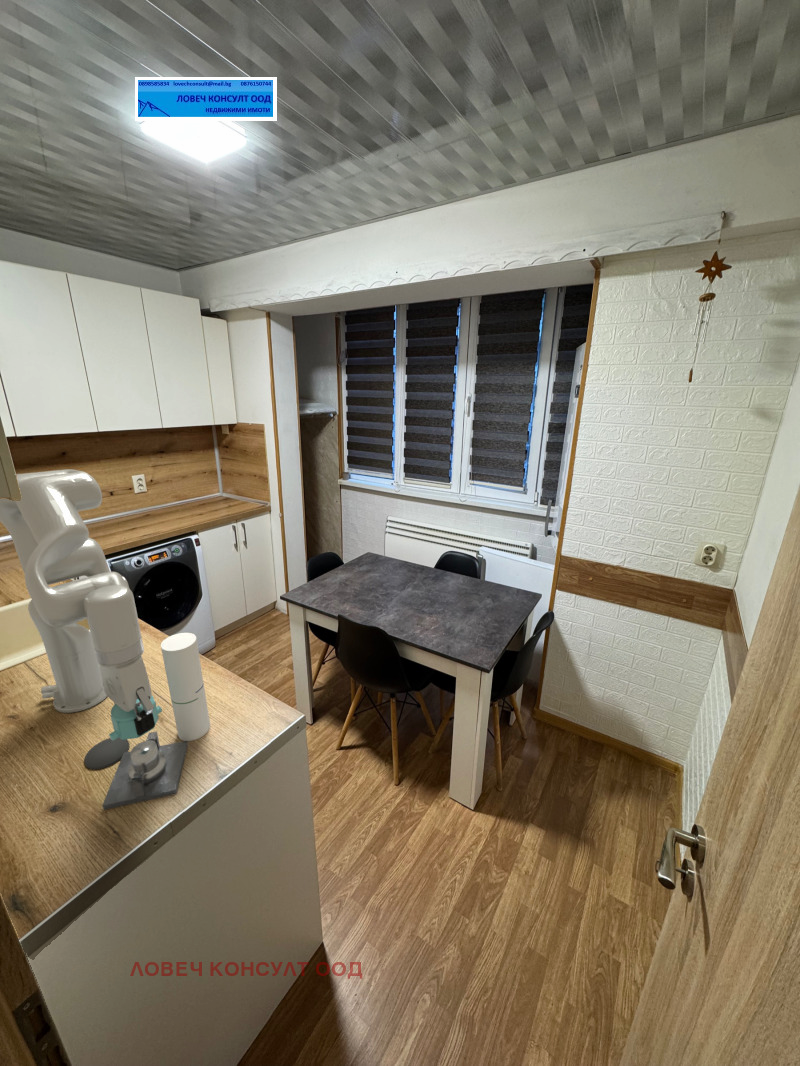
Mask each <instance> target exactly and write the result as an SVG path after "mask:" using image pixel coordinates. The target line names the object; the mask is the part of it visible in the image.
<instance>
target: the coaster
mask: <svg viewBox="0 0 800 1066" xmlns="http://www.w3.org/2000/svg"><path fill="white" fill-rule="evenodd" d="M129 750H130V742H129V739H125V740H121V739H120V738H117V739H115V740H114V741H112V740H111V739H110V737H108V738H106V739H103V740H101V741H100V742H98V743H96V744H95V745H93V746H92V747H91V748H90V749H89V750H88V751H87V752H86V754H85V756H84V764H85V767H87V768H88V769H90V770H102V769H105V768H108V767H111V766H113V765H114V764H116V763H118V762H120V761H121V758H122V756H123V754H124V753H125V752H129Z"/></svg>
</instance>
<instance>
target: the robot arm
mask: <svg viewBox="0 0 800 1066" xmlns="http://www.w3.org/2000/svg"><path fill="white" fill-rule="evenodd" d="M15 475H17V480H18V484H19V488H20V492H21V496H22V498H21V500H20V501H12V500H9V499H0V523H1V524H2V526H3V527H4V528H6V530H7V532H8V533H9V536H10V537H11V539H12V542H13V546H14V548H15V551H16V554H17V557H18V560H19V562H20V566H21V568H22V571H23V573H24V582H25V587H26V590H27V592H28V594H29V597H30V598H31V600H30V601H29V603H28V606H27V609H28V614H29V616H30V618H31V620H32V621H33V624H34V625H35V627H36V629H37V631H38V633H39V635H40V638H41V641H42V643H43V646H44V650H45V653H46V655H47V659H48V662H49V665H50V669H51V673H52V676H53V679H54V681H55V684H54V685H47V686H46V685H45V686H41V689H40V693H41V695H42V696H41V698H42V699H43V700H44V699H50V698H53V699H54V700H53V707H54V709H55V710H56V711H58V712H60V713H63V714H64V713H66V714H68V713H69V714H71V713H77V712H82V711H84V710H87V709H90V708H92V707H94V706H96V705H98V704H99V703H101V702H102V701H104V700H105V699H106V698H107V697H108V698H109V700H111V701H112V702H113V704H114V705H115V704H116V705H118V706H119V707H120V708H121V709H122V710H124V711H126V712H129V711H131V710H132V711H133V713H134V715H135V717H136V719H134V722H135V727H136V731H137V734H138V735H139V736H141V735H142V734H144V733H146V732H147V731H149V730H150V729H152V728H153V729H155V727H156V725H155V722H154V717H153V709H154V706H153V704H152V702H151V701H150V699H151V697H152V696H153V694H152V688H151V684H150V679H149V675H148V671H147V669H146V666H145V662H144V659H143V656H142V655H143V654H144V652H145V648H144V647H145V646H144V643H143V642H144V641H143V636H142V633H141V628H140V623H139V617H138V612H137V607H136V603H135V597H134V593H133V592H132V590H131V589H130V586H129V582H128V581H127V579H126V577H125V576H123V575H121V574H120V573H119V572H117V571H110V569H109V568H110V567H109V565H108V563H107V558H106V556H105V552H104V551H103V549H102V548H103V547H101V545H100V543H98V541H96V540H95V539H94V538H91V537H90V530H89V529H88V527H87V525H86V524H85V522H84V521H83V519H82V517H81V515H80V514H79V512H81V511H87V510H88V511H89V510H93V509H96V508H99V507H100V506H101V505H102V502H103V492H102V490H101V487H100V485H99V483H98V482H97V480H96V479H95V478H94V477H93V476H92V475H91V474H89V473H87V472H85V471H82V470H77V469H72V468H71V469H68V468H67V469H56V470H47V471H39V472H38V471H36V472H26V473H16V474H15ZM84 576H85V577H84ZM80 577H83V578H80ZM77 578H79V579H77ZM72 579H76V580H72ZM69 580H72V581H69ZM64 581H68V582H65V583H61V582H64ZM58 583H61V584H58ZM53 584H58V585H55V586H50V585H53ZM84 620H86V621H87V624H88V628H89V629H88V628H87V627H85V626H83V625H81V624H78V623H80V622H82V621H84ZM137 699H139V702H138V703H136V701H137ZM140 705H142V706H143V711H141V712H140V713H139V711H138V709H137V707H138V706H140ZM153 729H152V730H153ZM150 731H151V730H150ZM150 731H149V732H150ZM147 733H148V732H147ZM147 733H146V734H147ZM144 735H145V734H144ZM142 736H143V735H142ZM142 736H141V737H142Z"/></svg>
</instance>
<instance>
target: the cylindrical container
mask: <svg viewBox="0 0 800 1066" xmlns="http://www.w3.org/2000/svg"><path fill="white" fill-rule="evenodd" d="M197 639H198V638H197V636H196V634H194V633H191V632H181V633H175V634H173V635H170V636H168V637H166V638H164V639H163V640H162V642H161V643H160V648H161V653H162V654H161V655H162V660H163V665H164V670H165V675H166V679H167V685H168V690H169V694H170V696H169V697H170V700H171V705H172V706H171V707H172V711H173V712H172V713H173V715H174V721H175V727H176V733H177V736H178V738H179V739H180V740H181V741H188V742H192V741H195V740H198V739H200V738H202V737H203V736H205V735H206V734H207V733H208V732H209V730H210V729H211V721H210V716H209V715H210V714H209V708H208V703H207V696H206V689H205V685H204V684H205V683H204V677H203V671H202V665H201V659H200V652H199V647H198V640H197Z"/></svg>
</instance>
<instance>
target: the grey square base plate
mask: <svg viewBox="0 0 800 1066" xmlns="http://www.w3.org/2000/svg"><path fill="white" fill-rule="evenodd" d="M188 742H189V741H184V740H182V741H179V742H174V743H169V744H163V745H160V740H159V735H158V731H151V732H148V734H147V737H146V739H145V740H144V741H141V742H139V743H138V744H136V745H135V746H133V748H132V749H131V750H130V751H128V752H125V753H124V754H123V756H122V758H121V760H119V764H118V766H117V768H116V771H115V774H114V777H113V779H112V781H111V783H110V784H109V785H110V786H109V788H108V791H107V793H106V795H105V798H104V801H103V802H102V809H103V810H104V811H105V810H110V809H114V808H118V807H124V806H129V805H132V804H137V803H141V802H146V801H151V800H156V799H160V798H165V797H168V796H174V795H177V794H178V789H179V784H180V781H181V780H180V779H181V776H182V774H183V773H182V772H183V769H184V765H185V759H186V755H187V752H188V747H189V743H188Z"/></svg>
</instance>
